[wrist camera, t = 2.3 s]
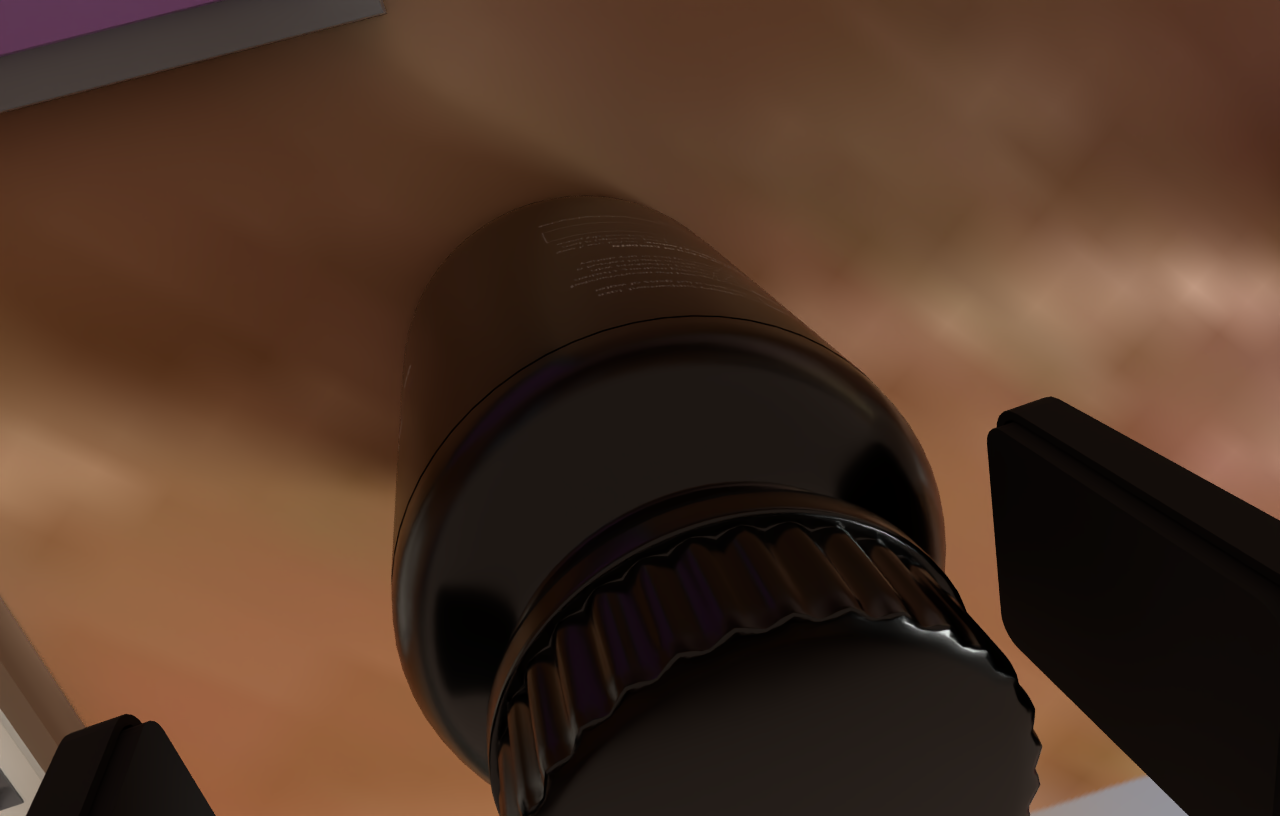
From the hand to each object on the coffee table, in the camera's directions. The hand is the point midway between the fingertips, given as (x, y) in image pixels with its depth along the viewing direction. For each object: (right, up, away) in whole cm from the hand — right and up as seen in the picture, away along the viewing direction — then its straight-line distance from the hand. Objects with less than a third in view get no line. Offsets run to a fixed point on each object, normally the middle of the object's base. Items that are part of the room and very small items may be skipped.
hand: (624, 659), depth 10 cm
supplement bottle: (-1, +4, +9) cm, 9 cm away
